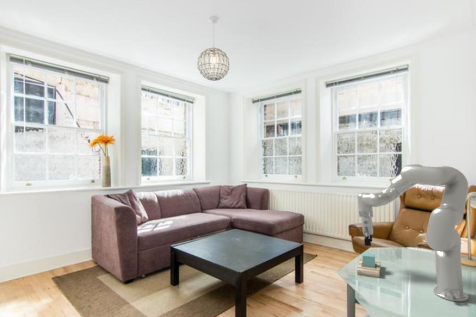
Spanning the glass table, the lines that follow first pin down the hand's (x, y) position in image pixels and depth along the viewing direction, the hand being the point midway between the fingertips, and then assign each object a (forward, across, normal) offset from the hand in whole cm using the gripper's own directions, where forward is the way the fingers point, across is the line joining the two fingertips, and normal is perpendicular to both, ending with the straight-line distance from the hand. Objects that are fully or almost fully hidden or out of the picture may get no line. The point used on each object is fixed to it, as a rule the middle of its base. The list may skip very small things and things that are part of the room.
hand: (368, 243), depth 153 cm
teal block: (+13, 0, +1) cm, 13 cm away
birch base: (+16, 0, +1) cm, 16 cm away
